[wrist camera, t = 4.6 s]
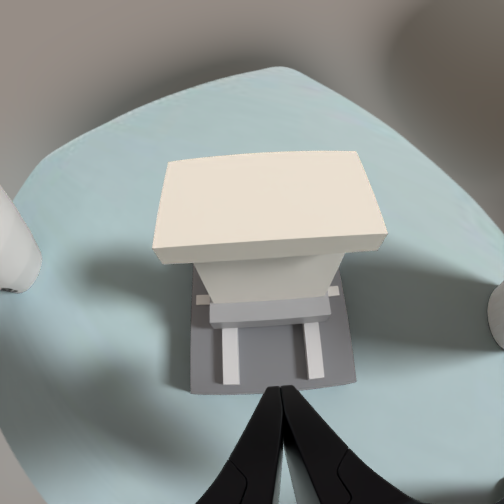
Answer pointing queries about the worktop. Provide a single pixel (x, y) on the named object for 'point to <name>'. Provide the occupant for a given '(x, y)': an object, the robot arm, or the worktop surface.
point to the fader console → (269, 350)
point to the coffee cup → (497, 314)
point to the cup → (16, 249)
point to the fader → (267, 230)
